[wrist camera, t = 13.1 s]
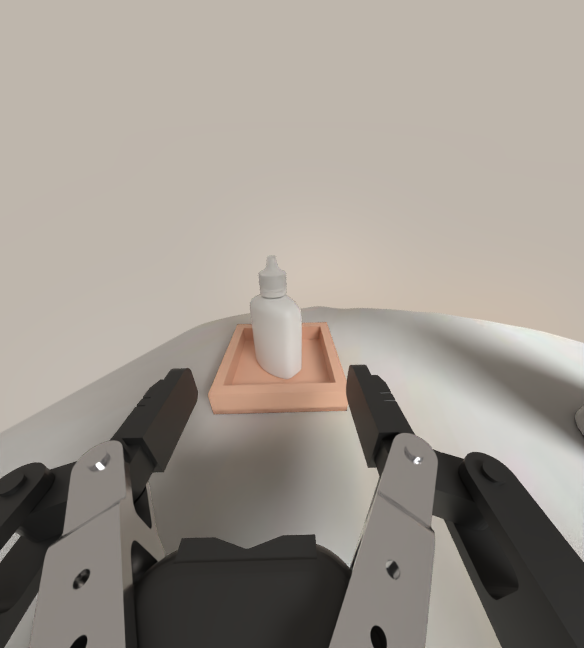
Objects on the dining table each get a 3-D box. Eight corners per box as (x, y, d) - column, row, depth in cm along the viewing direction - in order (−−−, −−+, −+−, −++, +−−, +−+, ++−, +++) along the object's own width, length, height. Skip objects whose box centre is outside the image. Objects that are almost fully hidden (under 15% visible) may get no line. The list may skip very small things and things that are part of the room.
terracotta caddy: (325, 337, 29) (326, 322, 28) (346, 410, 19) (349, 391, 18) (240, 339, 29) (237, 324, 28) (213, 414, 19) (207, 394, 17)
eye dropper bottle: (288, 347, 27) (285, 249, 21) (305, 377, 22) (307, 261, 16) (254, 354, 25) (241, 252, 19) (264, 387, 21) (250, 266, 15)
